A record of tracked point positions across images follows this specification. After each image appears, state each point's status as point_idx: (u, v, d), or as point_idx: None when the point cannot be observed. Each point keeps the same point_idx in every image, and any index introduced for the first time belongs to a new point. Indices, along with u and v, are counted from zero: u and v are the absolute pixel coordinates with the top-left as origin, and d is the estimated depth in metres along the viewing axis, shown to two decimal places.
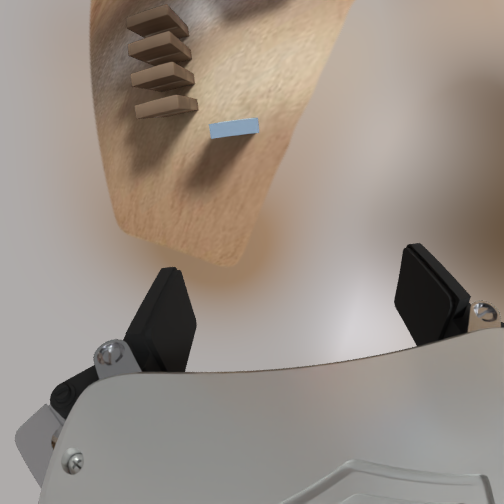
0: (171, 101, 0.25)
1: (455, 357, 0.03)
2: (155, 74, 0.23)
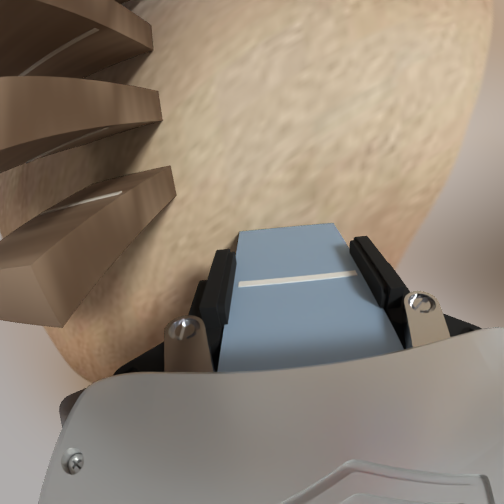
0: (27, 292, 0.04)
1: (455, 357, 0.03)
2: None
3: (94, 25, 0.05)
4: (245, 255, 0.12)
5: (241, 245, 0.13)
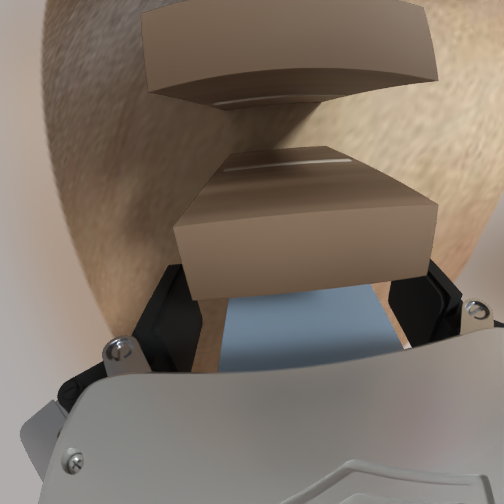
0: (408, 237, 0.05)
1: (455, 357, 0.03)
2: (329, 36, 0.03)
3: None
4: None
5: None
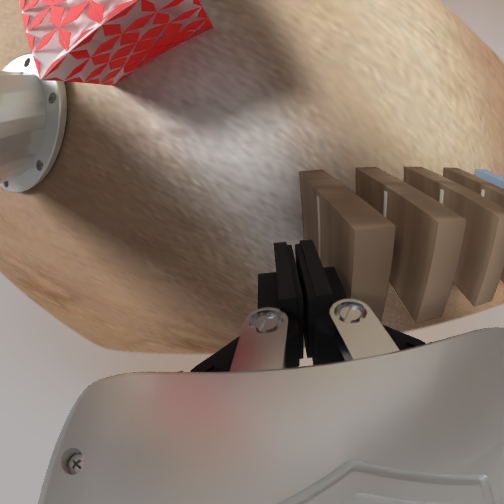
0: None
1: (455, 357, 0.03)
2: (501, 254, 0.09)
3: None
4: None
5: None
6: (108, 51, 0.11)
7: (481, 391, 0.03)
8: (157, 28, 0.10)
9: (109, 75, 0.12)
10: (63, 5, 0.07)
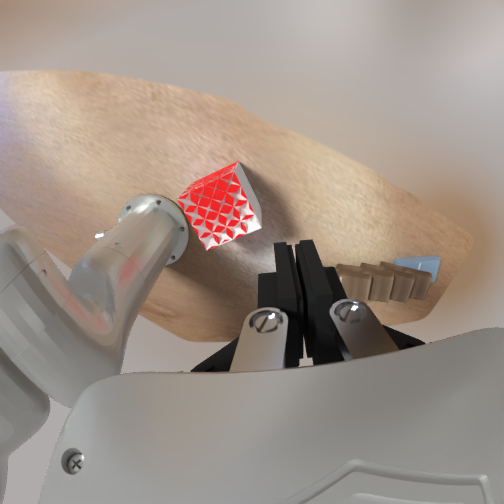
0: None
1: (455, 357, 0.03)
2: None
3: None
4: None
5: None
6: None
7: (481, 391, 0.03)
8: None
9: None
10: None
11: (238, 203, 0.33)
